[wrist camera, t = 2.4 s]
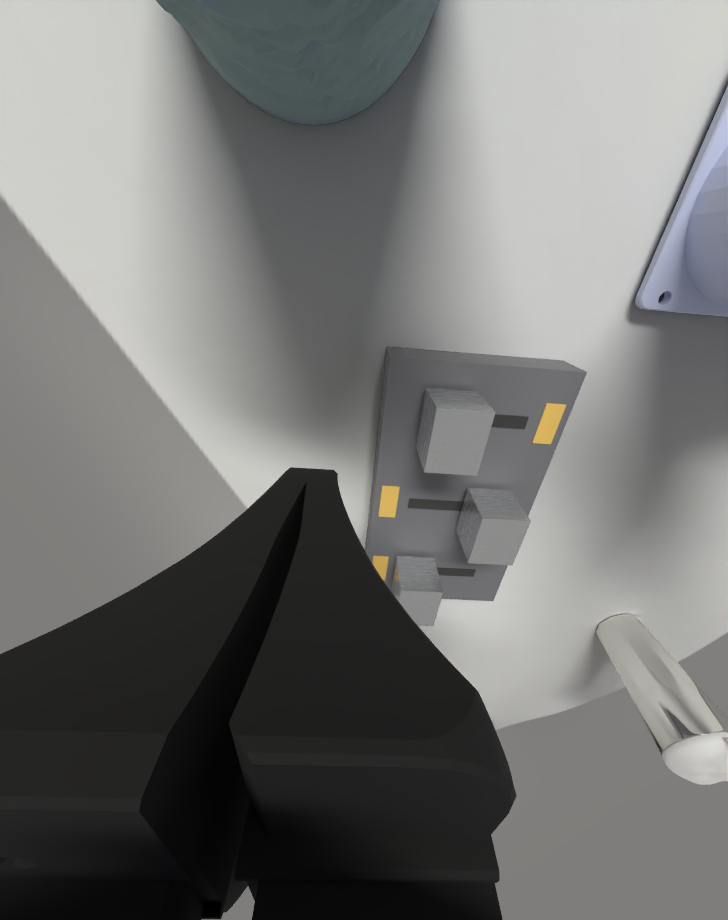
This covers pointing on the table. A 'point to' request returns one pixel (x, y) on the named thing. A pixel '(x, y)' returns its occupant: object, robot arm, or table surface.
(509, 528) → the knob
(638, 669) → the milkshake
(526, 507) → the switch panel
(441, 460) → the knob
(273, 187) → the table surface
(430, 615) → the knob
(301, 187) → the table surface
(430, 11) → the teal plant pot
